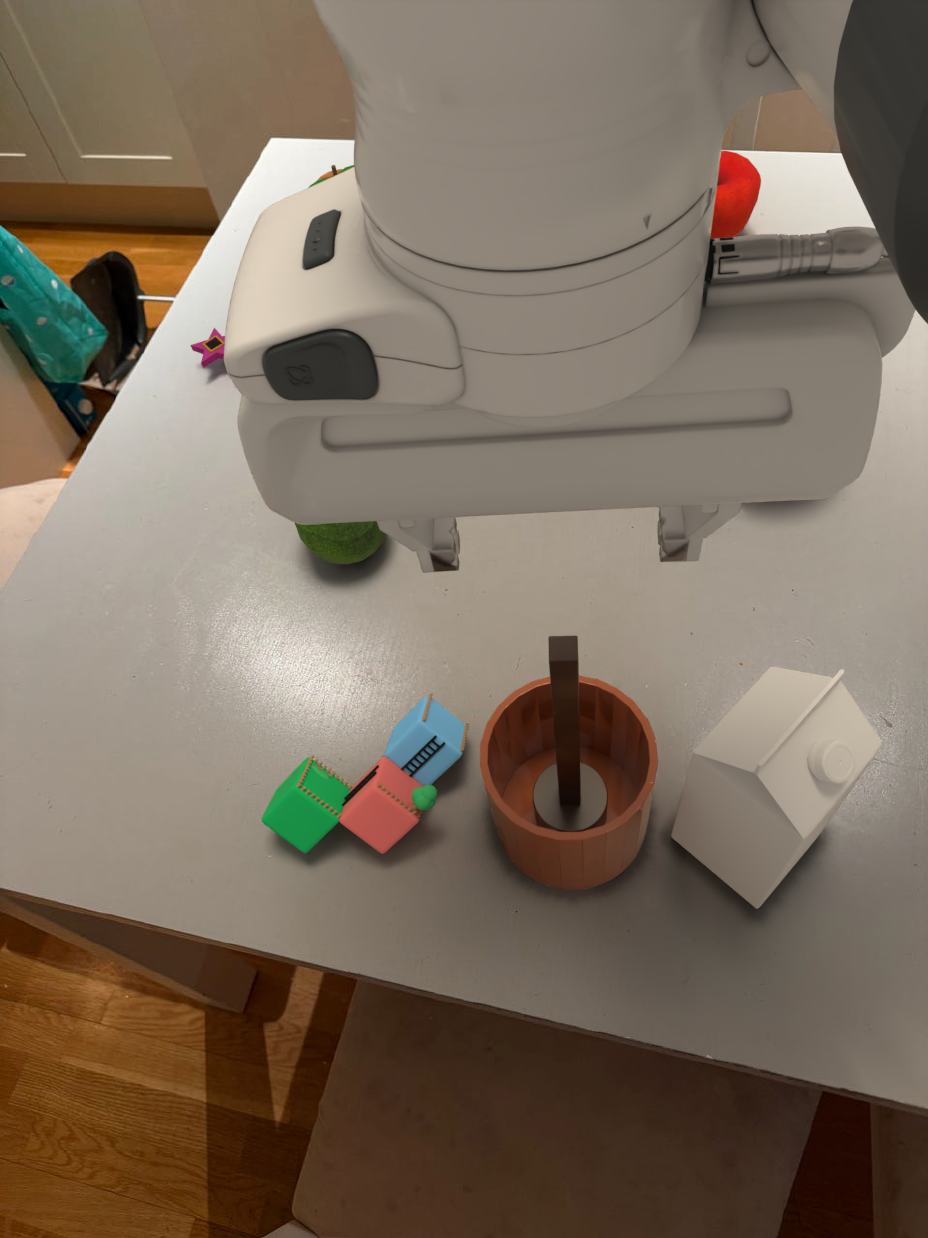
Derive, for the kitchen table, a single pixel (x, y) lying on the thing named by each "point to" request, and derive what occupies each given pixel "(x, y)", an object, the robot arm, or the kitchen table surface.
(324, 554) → the avocado
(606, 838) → the crock
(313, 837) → the building blocks
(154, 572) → the kitchen table surface
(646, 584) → the kitchen table surface
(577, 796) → the ladle
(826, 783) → the milk carton
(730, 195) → the apple
